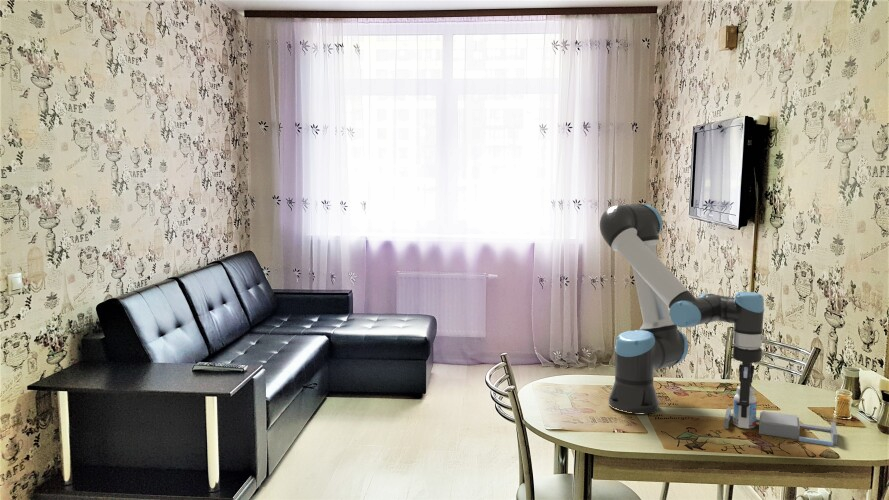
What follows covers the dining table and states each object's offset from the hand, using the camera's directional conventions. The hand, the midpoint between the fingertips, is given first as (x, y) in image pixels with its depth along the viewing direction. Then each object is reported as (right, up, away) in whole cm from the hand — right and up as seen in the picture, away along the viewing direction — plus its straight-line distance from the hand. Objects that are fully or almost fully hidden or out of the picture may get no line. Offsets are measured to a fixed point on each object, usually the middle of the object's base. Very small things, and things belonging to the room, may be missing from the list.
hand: (744, 421), depth 191 cm
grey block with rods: (+8, -1, -4) cm, 9 cm away
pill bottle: (0, -1, 0) cm, 1 cm away
